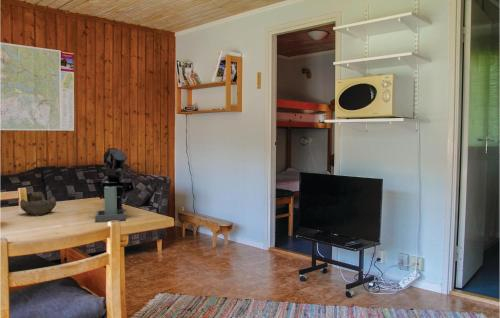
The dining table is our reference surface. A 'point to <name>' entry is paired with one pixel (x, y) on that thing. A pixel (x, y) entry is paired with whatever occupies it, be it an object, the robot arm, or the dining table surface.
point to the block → (110, 200)
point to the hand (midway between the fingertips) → (110, 198)
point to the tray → (109, 216)
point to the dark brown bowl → (38, 204)
